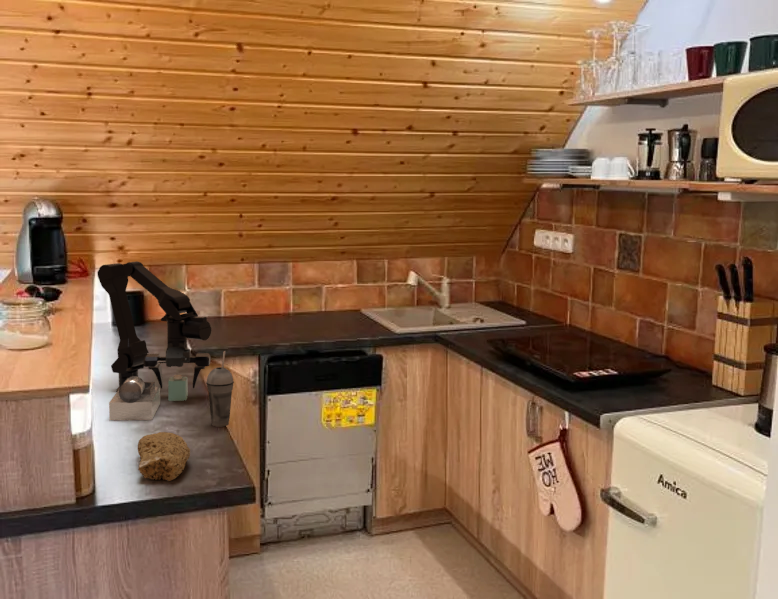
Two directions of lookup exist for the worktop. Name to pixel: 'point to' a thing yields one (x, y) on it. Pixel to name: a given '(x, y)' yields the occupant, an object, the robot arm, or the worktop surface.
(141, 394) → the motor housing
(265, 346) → the worktop surface
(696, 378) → the worktop surface
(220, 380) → the beverage cup
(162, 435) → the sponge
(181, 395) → the green block with knob
